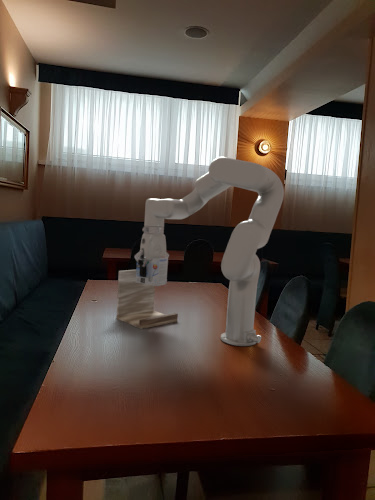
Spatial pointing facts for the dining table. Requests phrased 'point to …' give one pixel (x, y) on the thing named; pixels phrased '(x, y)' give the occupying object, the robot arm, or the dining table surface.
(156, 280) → the light bulb box
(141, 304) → the board
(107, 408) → the dining table surface
